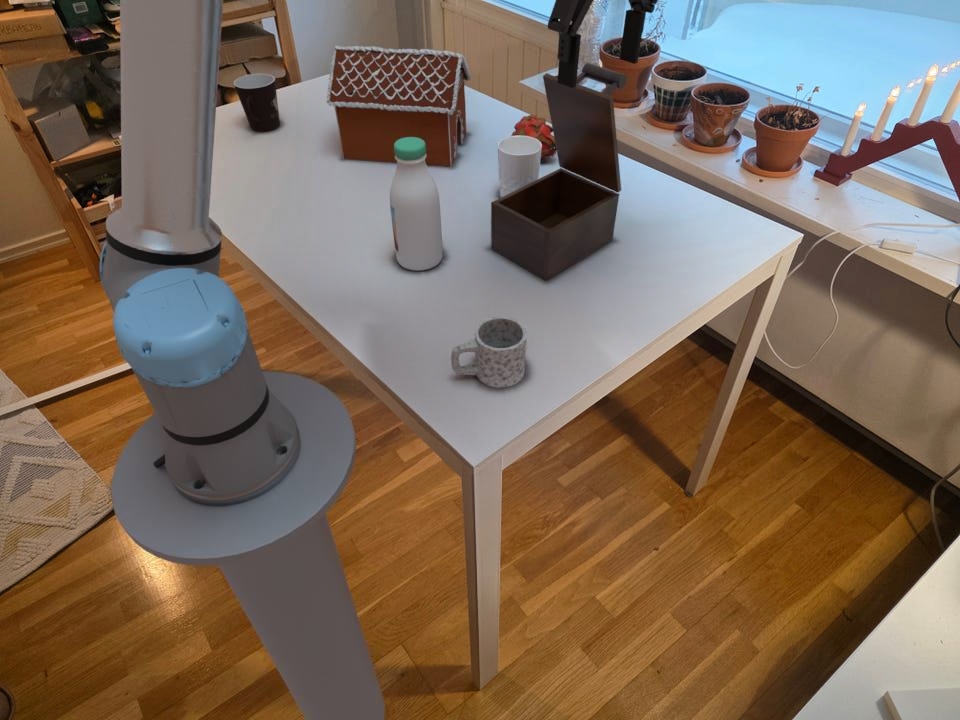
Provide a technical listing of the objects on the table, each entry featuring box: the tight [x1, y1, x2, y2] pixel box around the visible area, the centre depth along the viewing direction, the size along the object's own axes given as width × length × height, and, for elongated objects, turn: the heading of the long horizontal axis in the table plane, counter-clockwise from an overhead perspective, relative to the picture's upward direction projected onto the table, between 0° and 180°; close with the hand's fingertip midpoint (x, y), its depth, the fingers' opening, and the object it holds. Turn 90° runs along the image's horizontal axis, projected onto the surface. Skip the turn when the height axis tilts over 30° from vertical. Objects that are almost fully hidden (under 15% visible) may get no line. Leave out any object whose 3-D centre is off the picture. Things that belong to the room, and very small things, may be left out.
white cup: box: [496, 135, 542, 198], centre depth 118 cm, size 8×8×10 cm
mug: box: [450, 316, 528, 389], centre depth 85 cm, size 10×7×7 cm, turn 105°
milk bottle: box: [389, 137, 444, 271], centre depth 100 cm, size 8×8×20 cm
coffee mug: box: [233, 73, 281, 133], centre depth 141 cm, size 12×9×10 cm
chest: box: [490, 167, 620, 282], centre depth 106 cm, size 17×13×9 cm
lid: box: [542, 62, 628, 194], centre depth 101 cm, size 17×13×7 cm
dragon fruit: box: [510, 113, 557, 163], centre depth 131 cm, size 8×8×12 cm
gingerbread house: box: [325, 44, 472, 168], centre depth 131 cm, size 18×26×20 cm
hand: (598, 72), depth 91 cm, fingers open, 13 cm apart
